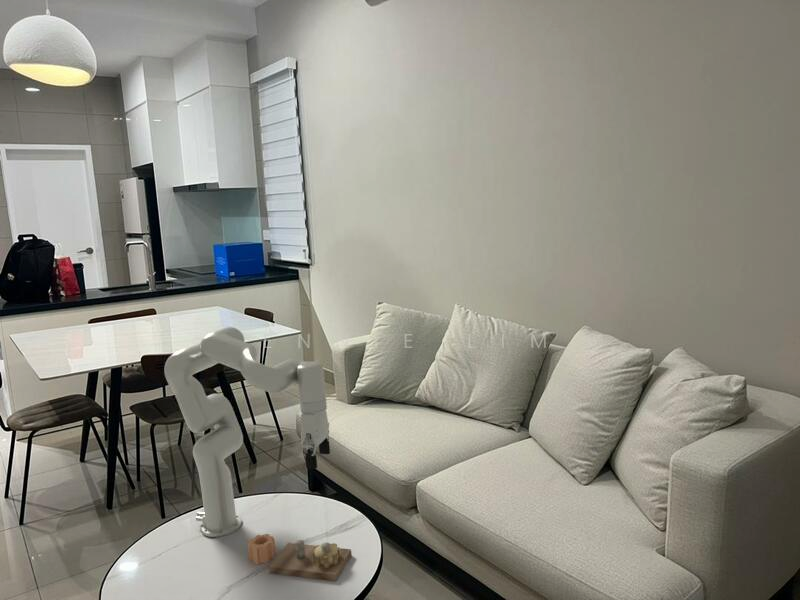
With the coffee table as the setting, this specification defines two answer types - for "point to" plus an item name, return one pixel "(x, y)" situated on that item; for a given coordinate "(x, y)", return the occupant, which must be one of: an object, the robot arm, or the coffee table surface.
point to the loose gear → (261, 548)
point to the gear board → (311, 561)
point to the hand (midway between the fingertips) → (318, 460)
